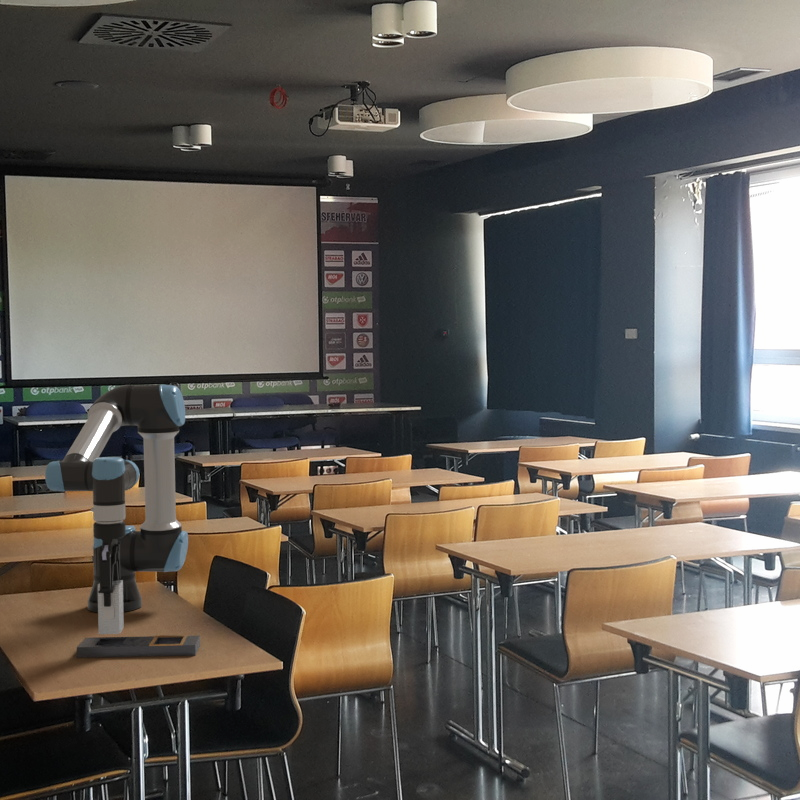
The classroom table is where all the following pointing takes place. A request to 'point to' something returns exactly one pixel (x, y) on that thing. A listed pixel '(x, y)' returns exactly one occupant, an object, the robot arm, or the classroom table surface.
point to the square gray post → (118, 622)
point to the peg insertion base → (139, 646)
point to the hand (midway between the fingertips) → (111, 615)
